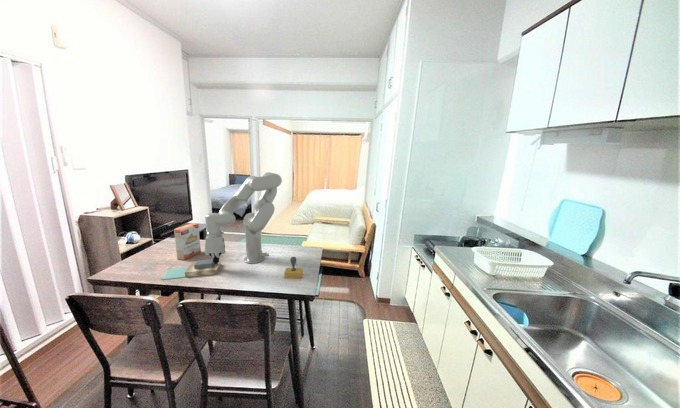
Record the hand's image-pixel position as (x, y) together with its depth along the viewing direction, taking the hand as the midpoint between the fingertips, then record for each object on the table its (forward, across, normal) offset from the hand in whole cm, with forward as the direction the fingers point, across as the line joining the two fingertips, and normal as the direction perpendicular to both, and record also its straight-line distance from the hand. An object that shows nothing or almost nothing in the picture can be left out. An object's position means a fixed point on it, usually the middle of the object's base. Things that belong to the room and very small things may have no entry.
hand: (216, 263), depth 142 cm
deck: (+4, +7, 0) cm, 8 cm away
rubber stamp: (+4, -44, +19) cm, 48 cm away
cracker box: (+4, +21, -25) cm, 33 cm away
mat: (+4, +21, 0) cm, 21 cm away
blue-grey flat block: (0, +6, 0) cm, 7 cm away
